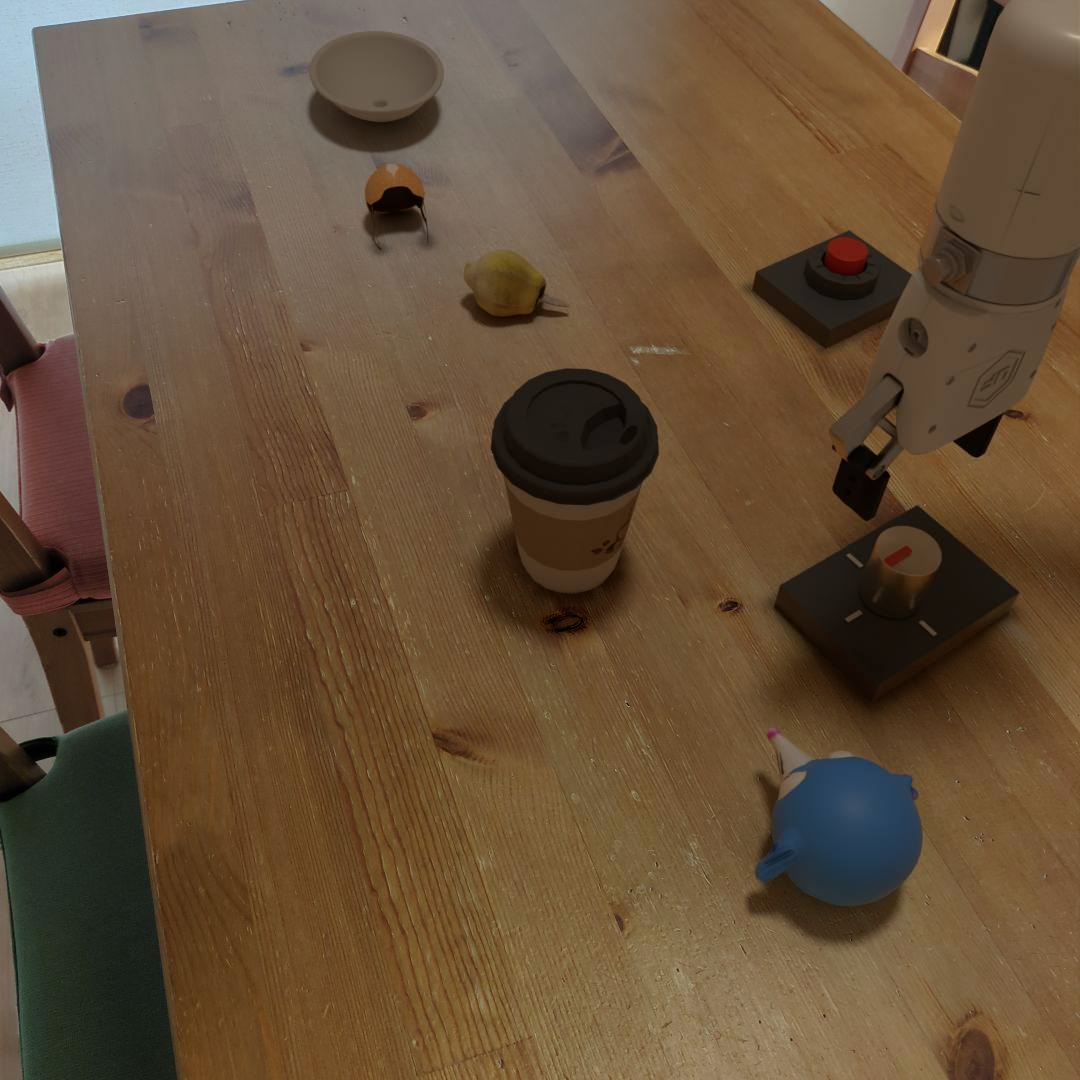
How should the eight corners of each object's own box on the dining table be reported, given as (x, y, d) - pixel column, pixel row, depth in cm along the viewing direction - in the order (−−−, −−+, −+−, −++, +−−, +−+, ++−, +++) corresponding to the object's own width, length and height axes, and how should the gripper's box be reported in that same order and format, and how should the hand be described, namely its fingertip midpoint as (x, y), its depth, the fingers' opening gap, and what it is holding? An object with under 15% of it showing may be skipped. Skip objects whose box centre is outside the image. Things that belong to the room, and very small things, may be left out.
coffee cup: (601, 642, 79) (615, 503, 68) (465, 579, 83) (456, 437, 71) (668, 535, 86) (691, 392, 74) (539, 481, 89) (542, 336, 78)
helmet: (431, 254, 113) (417, 178, 113) (435, 232, 106) (420, 151, 106) (374, 262, 112) (360, 185, 112) (375, 240, 105) (359, 158, 105)
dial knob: (889, 560, 81) (909, 513, 77) (934, 601, 79) (957, 554, 75) (845, 587, 80) (863, 540, 76) (890, 629, 77) (911, 583, 73)
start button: (844, 248, 104) (848, 232, 102) (871, 268, 102) (876, 252, 100) (815, 261, 102) (819, 245, 101) (843, 281, 100) (847, 265, 99)
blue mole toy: (830, 724, 75) (860, 655, 69) (949, 873, 69) (994, 812, 62) (682, 800, 72) (698, 735, 65) (792, 965, 65) (823, 911, 59)
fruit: (564, 337, 101) (455, 316, 100) (566, 312, 106) (462, 291, 105) (576, 277, 97) (464, 254, 97) (578, 253, 102) (471, 232, 102)
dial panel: (908, 525, 87) (918, 503, 85) (1008, 612, 82) (1021, 590, 80) (773, 605, 82) (780, 583, 80) (870, 703, 76) (880, 682, 74)
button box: (844, 248, 110) (853, 213, 106) (918, 302, 104) (931, 267, 101) (751, 290, 105) (758, 255, 102) (824, 349, 100) (834, 313, 97)
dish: (302, 83, 128) (295, 40, 125) (423, 65, 131) (420, 23, 128) (333, 164, 118) (326, 120, 114) (464, 142, 121) (462, 99, 117)
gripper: (936, 346, 52) (850, 571, 65) (1166, 228, 58) (1046, 456, 72) (825, 263, 56) (765, 492, 69) (1052, 161, 62) (958, 389, 75)
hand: (908, 473), depth 70 cm, fingers open, 9 cm apart
